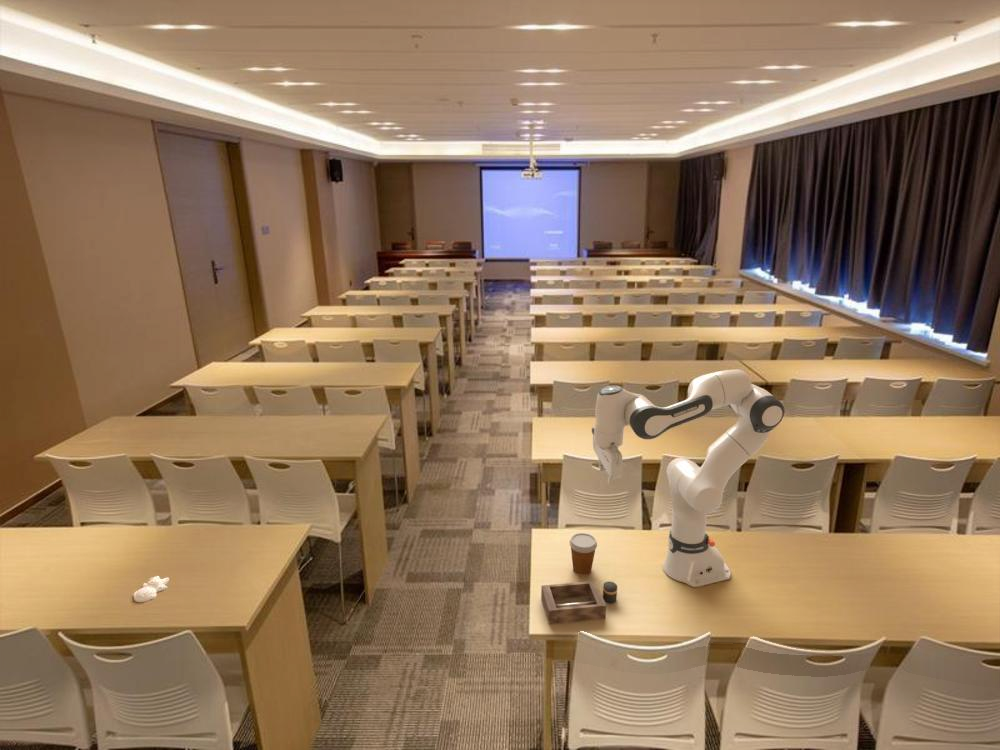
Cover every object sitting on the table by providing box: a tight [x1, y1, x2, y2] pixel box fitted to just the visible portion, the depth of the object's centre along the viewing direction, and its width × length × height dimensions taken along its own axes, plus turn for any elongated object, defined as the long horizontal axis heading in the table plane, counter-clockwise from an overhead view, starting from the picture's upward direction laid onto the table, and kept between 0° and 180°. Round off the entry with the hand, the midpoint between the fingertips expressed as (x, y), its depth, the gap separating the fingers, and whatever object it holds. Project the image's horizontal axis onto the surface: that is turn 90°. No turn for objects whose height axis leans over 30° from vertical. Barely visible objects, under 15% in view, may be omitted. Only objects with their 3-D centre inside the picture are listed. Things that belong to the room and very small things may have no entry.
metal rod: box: [555, 600, 596, 608], centre depth 189 cm, size 15×1×1 cm, turn 97°
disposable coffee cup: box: [568, 532, 598, 576], centre depth 210 cm, size 10×10×12 cm
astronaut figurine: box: [132, 575, 170, 603], centre depth 202 cm, size 9×12×3 cm
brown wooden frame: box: [540, 580, 607, 625], centre depth 192 cm, size 18×12×5 cm, turn 97°
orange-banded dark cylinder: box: [602, 581, 618, 604], centre depth 196 cm, size 4×4×5 cm
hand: (606, 476), depth 192 cm, fingers open, 8 cm apart
